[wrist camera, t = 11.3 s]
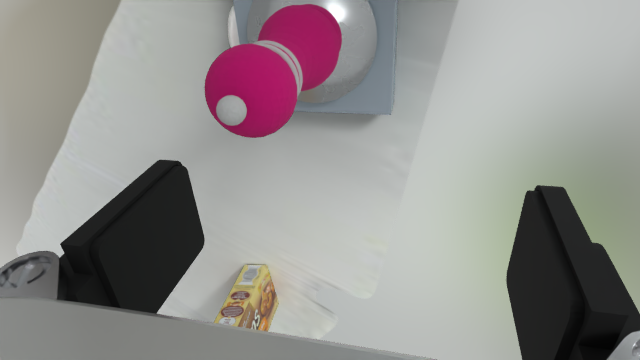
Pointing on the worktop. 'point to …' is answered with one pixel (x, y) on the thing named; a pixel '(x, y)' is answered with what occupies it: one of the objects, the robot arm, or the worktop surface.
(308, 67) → the pepper mill
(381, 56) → the scale
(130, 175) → the worktop surface
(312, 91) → the pan
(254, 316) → the candy box
